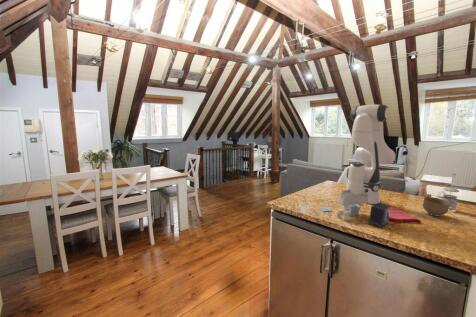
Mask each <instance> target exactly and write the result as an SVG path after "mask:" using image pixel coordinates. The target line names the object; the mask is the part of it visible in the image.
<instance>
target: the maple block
mask: <svg viewBox="0 0 476 317" xmlns="http://www.w3.org/2000/svg"><path fill="white" fill-rule="evenodd" d="M351 217H352V215H351V211H349V210H346V209H344V208H340V209H337V213H336V218H337V219H339V220H341V221H343V222H345V221H351Z"/></svg>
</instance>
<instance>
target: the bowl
mask: <svg viewBox="0 0 476 317" xmlns="http://www.w3.org/2000/svg"><path fill="white" fill-rule="evenodd" d="M439 198H440V197H438V198H437V197H432V196H424V197H423V202H422V207H423V209H424V210H425V212H426V213H427V214H428V213H429V214H428V215H430V214H432V215H439V216H442V215H445V214H447V213H449V212H448V208H449V205H450V203H449V202H448V201H445V200H442V198H440V199H439ZM432 215H431V216H432Z"/></svg>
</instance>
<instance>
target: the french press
mask: <svg viewBox="0 0 476 317" xmlns="http://www.w3.org/2000/svg"><path fill="white" fill-rule="evenodd" d="M451 175H452V176H453V177H452V178H455V177H454V176H456V173H455V172H453V173H451ZM453 182H454V179H452V182H451V184H453ZM442 189H443V190H444V191H442V190H440V192H439V193H438V194H437V197H436V198H439V199H442V200H445V201H447V202H449V203H450V205H449V207H452V208H448V209H449V210H455V209H456V210H457V203H458V196H456V195H453V194H451V193H459V192H460V190H458V189H457V188H454V187H453V185H451V187H449V186H448V187H444V188H442ZM446 192H450V193H449V194H447V193H446ZM445 193H446V194H445ZM441 194H442V196H441ZM440 196H441V198H440ZM453 208H454V209H453Z"/></svg>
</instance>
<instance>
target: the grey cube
mask: <svg viewBox="0 0 476 317" xmlns="http://www.w3.org/2000/svg"><path fill="white" fill-rule="evenodd" d="M347 209H349V211H351V216H359V212H360V211H359V207H358V205H357V204H356V205H348V207H347Z"/></svg>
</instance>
